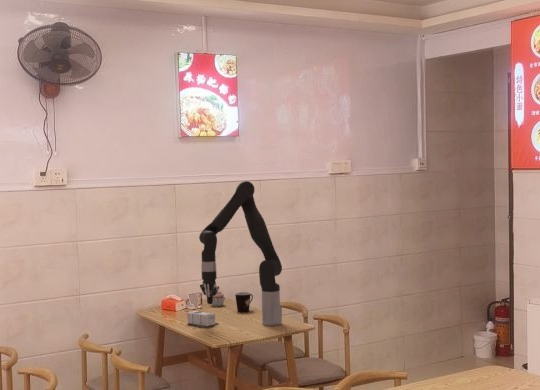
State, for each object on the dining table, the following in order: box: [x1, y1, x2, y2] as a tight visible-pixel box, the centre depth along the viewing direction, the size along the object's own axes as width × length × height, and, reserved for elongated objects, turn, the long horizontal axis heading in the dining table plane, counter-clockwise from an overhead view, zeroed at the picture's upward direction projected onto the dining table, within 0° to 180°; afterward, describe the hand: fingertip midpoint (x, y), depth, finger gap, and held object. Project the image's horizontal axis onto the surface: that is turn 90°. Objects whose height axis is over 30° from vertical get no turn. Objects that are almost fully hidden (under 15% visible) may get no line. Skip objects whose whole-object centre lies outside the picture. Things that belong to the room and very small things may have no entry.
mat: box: [187, 322, 220, 329], centre depth 361 cm, size 12×11×1 cm
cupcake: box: [211, 289, 226, 308], centre depth 409 cm, size 9×9×10 cm
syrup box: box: [187, 310, 216, 327], centre depth 360 cm, size 6×6×14 cm
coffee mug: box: [234, 291, 254, 314], centre depth 392 cm, size 12×9×10 cm
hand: (209, 303), depth 356 cm, fingers closed
